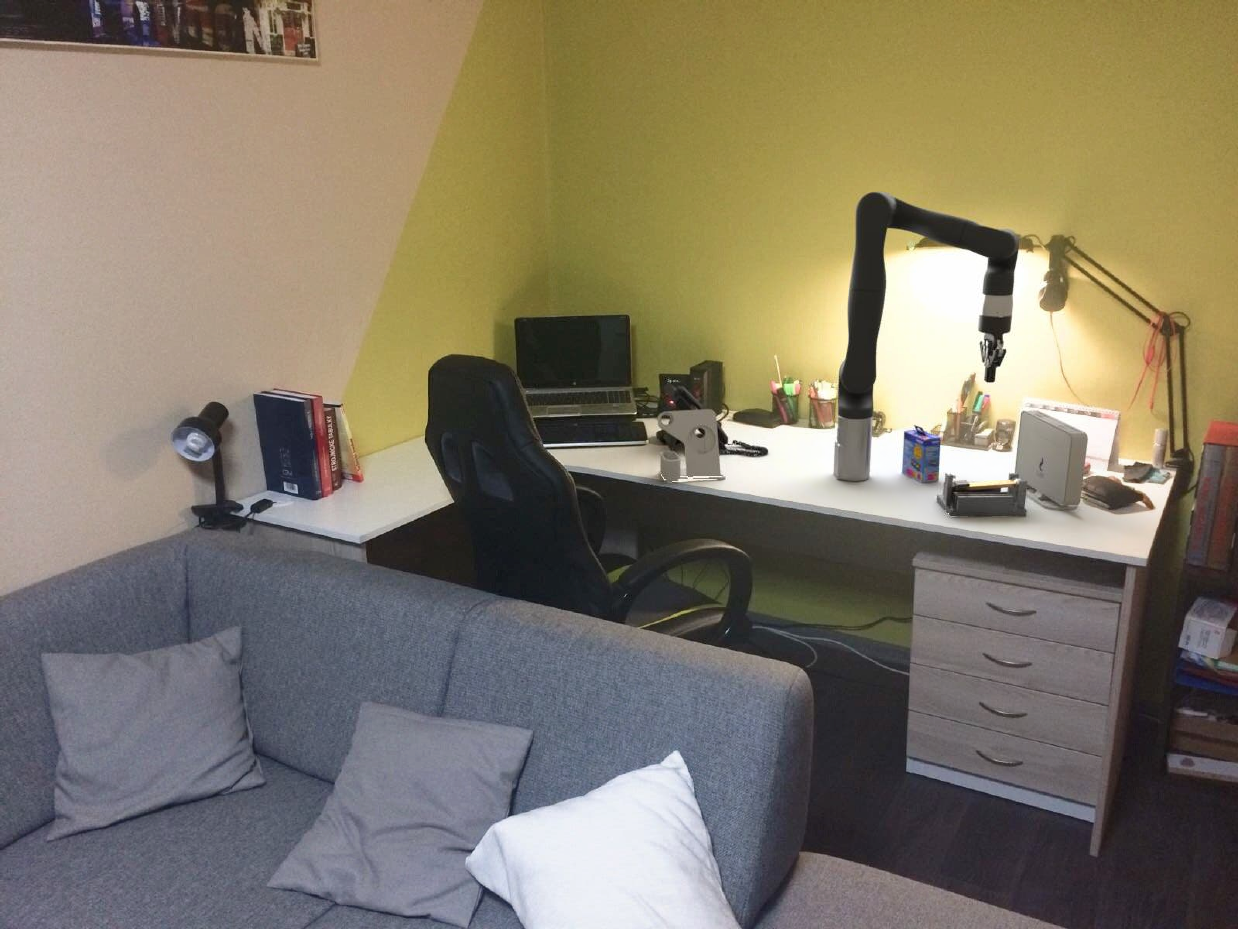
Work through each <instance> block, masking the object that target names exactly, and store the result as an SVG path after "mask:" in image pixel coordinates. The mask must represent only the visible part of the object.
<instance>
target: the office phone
mask: <svg viewBox="0 0 1238 929" xmlns="http://www.w3.org/2000/svg"><path fill="white" fill-rule="evenodd" d="M662 389H663V391H664V392H665V393H666V395H667V396H668V397H669V399H670V400H671V401H672V403H674V405H675V407H674V410H673V411H684V410H695V409H694V408H693V406H694V407H695V408H696V410H702V409H707V408H706V407H705V406H704V405H703V403H702V402H700V401H699V400H698V399H697V398H696V397H695V396H694V395H693V394H692V393H691V392H689V390H687V389H686V388H685V386H683V385H680V386H677V387H675V386H673V385H672V383H670V381H667V382H666V384H665V385H664V386H663V388H662ZM692 405H693V406H692ZM670 422H671V418H670V419H669V421H668V423H667V425H668V424H669V423H670ZM696 431H698V432H699V433H700V434H701V435H702V437H704V436H705V431H704V429H702V428H698V429H697V430H696ZM717 432H718V446H719V455H734V454H735V455H736V454H737V455H740V456H742V455H745V456H747V457H748V456H751V457H755V456H757V457H761V456H765V455H766V456H767V455H768V453H769V449H768V448H767V447H765V446H761V445H754V444H752V445H751V444H749V443H746V442H744V441H743V442H742V440H737V439H734V440H732V443H729V437H728V435H727V433H726V432H725V430H723V428H722V427H721V425H720V424H719V423H718V422H717ZM677 441H678V439H677V438H675V437H674V436H672V435H670V442H669V443H668V446H667V447H668V449H669V451H674V450H673V449H674V447H675V445H676V443H677ZM726 445H727V446H732V445H735V446H740V447H741V448H745V450H744V449H737V448H735V449H732V448H730V449H728V448H727V447H726ZM750 450H751V451H750Z"/></svg>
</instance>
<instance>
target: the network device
mask: <svg viewBox="0 0 1238 929" xmlns="http://www.w3.org/2000/svg"><path fill="white" fill-rule="evenodd" d="M1088 441H1089V438H1088V434H1087V433H1086V431H1083V430H1081V429H1078V428H1077V427H1074V426H1072V425H1070V424H1068V423H1066V422H1064V421H1062V420H1060V419H1057V418H1055V417H1053V416H1051V415H1050V414H1047V413H1045V412H1043V411H1041V410H1038V409H1033V410H1022V411H1021V413H1020V417H1019V429H1018V438H1017V445H1016V446H1017V448H1016V457H1015V467H1014V473H1018V474H1019V477H1018V479H1019V480H1026V481H1028V482H1027V487H1028V488H1033V489H1035V490H1036V491H1035V492H1034V493H1030V492H1028V491H1026V496H1027V497H1026V498H1028V497H1029V498H1028V499H1029V500H1030V501H1032V500H1033V502H1034V503H1036V504H1037V505H1039V506H1040V507H1042V508H1044V509H1047V510H1053V511H1062V510H1063V511H1064V510H1075V509H1077V508H1078V506H1079V505H1080V503H1081V498H1082V497H1081V496H1082V489H1083V483H1084V473H1085V465H1086V459H1087V458H1086V456H1087V450H1088V443H1089V442H1088ZM1042 500H1052V501H1054V502H1055V503H1057V504H1059V505H1049V504H1047V503H1045V502H1043V501H1042Z"/></svg>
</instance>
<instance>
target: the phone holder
mask: <svg viewBox="0 0 1238 929" xmlns="http://www.w3.org/2000/svg"><path fill="white" fill-rule="evenodd" d="M664 416H668V417H669V418H670V419H671V422H670V423H669V422H668V423H669V424H668V423H667V424H664V423H663V422H662V417H664ZM717 423H718V421H717V414H716V412H715V411H714V410H713V409H711V408H706V409H702V410H698V409H694V410H684V411H674V410H669V411H663V412H660V414H658V416H657V425H658V427H659V428H660V429H661V430H663V431H664V432H665V431H666V432H667V433H669V434H670V435H672V436H674V437H675V438H677V441H678V440H679V441H680V442H682V444H683V445H684V454H685V455H684V456H685V458H684V459H685V468H681V458H680V456H679V455H678V454H677V452H676V451H674V450H672V451H671V450H664V451H661V452H660V453H659V454H660V455H659V456H660V457H659V458H660V463H659V464H660V471H659V473H660V472H661V474H662V476H663V477H664V479H666V480H665V481H666V482H669V483H668V484H671V483H670V482H672V481H678V479H688V478H687V477H680V476H688V477H693V476H722V477H709V478H693V479H724V478H725V477H727V476H726V474H725V473H724V472H723V471H722V469H721V460H720V454H719V446H718V432H717ZM698 428H702V429H704V431H705V436H702V437H698V436H697V435H696V431H698V430H697V429H698ZM724 480H725V479H724ZM665 481H664V482H665ZM666 482H665V483H666Z"/></svg>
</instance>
